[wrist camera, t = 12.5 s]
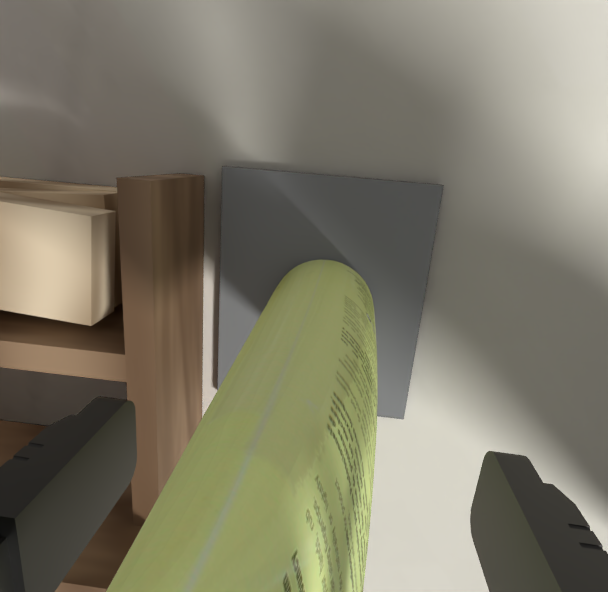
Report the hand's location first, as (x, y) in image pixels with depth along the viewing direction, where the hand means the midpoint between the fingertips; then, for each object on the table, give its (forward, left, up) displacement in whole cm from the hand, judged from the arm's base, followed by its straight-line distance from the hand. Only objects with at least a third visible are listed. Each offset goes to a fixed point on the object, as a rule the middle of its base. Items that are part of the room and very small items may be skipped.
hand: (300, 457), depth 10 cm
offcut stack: (+14, -2, -13) cm, 19 cm away
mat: (0, 0, -13) cm, 13 cm away
